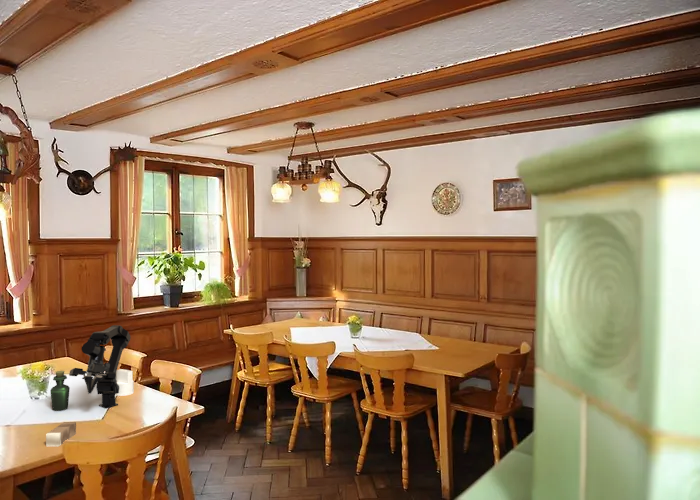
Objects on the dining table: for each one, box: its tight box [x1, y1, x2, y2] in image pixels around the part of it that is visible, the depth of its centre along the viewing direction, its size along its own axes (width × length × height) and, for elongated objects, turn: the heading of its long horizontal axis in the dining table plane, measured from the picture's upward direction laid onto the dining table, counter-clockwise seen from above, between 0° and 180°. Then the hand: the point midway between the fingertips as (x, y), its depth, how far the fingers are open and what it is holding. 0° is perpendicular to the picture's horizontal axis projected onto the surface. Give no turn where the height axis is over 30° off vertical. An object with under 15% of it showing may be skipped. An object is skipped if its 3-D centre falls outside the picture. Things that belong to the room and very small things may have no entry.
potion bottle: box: [50, 370, 71, 412], centre depth 245 cm, size 8×8×18 cm
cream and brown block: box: [45, 421, 77, 448], centre depth 208 cm, size 5×5×13 cm
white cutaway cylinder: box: [115, 368, 135, 397], centre depth 270 cm, size 9×9×12 cm
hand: (89, 393), depth 230 cm, fingers closed
